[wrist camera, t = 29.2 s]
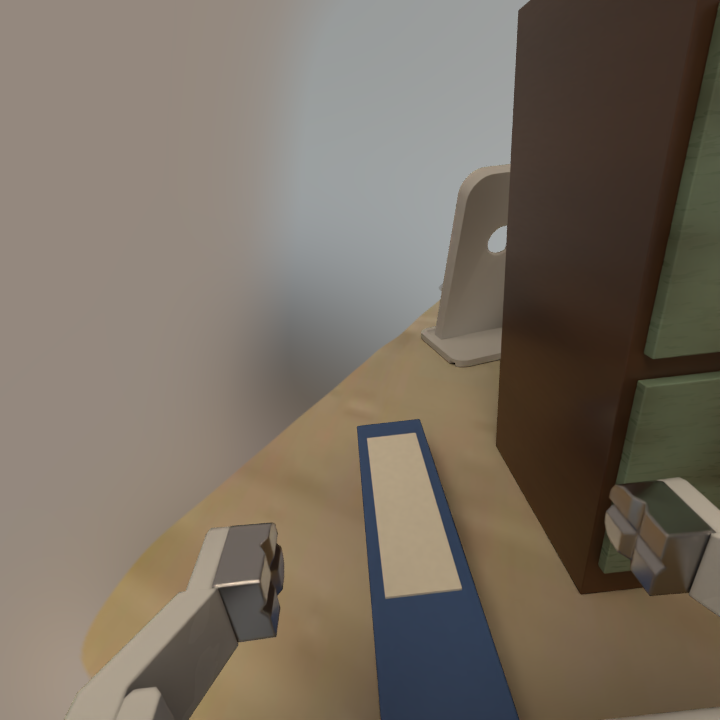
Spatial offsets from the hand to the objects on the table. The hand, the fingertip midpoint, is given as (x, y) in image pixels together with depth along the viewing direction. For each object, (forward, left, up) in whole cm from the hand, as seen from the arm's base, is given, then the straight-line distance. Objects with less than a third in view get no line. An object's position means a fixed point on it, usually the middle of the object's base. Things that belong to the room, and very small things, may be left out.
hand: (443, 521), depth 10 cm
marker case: (0, -7, -11) cm, 13 cm away
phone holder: (-15, -36, -11) cm, 40 cm away
